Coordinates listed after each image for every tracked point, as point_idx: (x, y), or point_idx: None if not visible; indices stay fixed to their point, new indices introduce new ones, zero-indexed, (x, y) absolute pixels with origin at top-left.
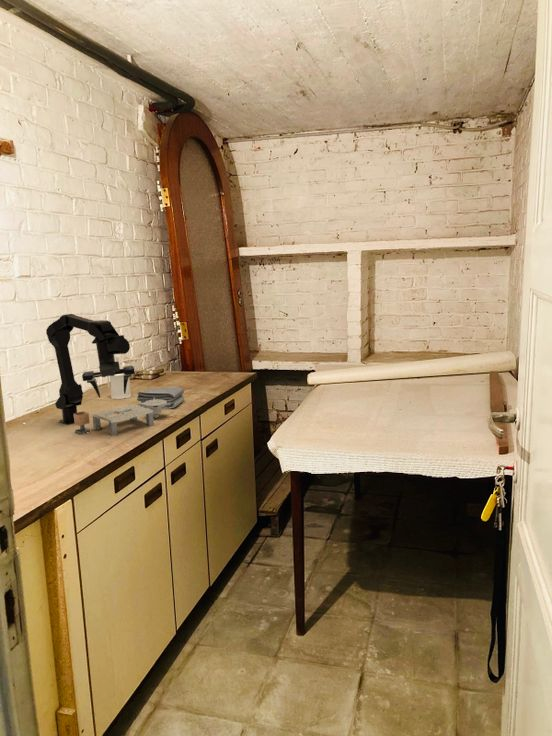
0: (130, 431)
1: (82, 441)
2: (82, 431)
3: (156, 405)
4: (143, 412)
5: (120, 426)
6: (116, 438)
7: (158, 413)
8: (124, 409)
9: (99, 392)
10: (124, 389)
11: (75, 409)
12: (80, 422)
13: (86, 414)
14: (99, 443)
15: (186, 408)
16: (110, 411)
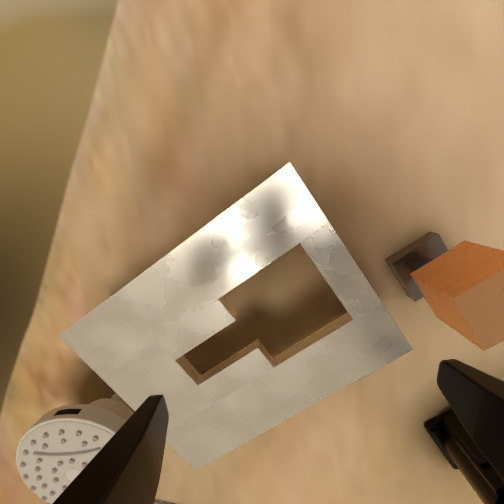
0: (202, 222)
1: (421, 113)
2: (427, 243)
3: (58, 417)
4: (106, 300)
5: (256, 311)
6: (257, 121)
7: (94, 402)
8: (230, 387)
9: (486, 441)
10: (128, 442)
11: (491, 473)
12: (471, 249)
13: (463, 287)
14: (336, 50)
15: (20, 477)
16: (308, 368)
